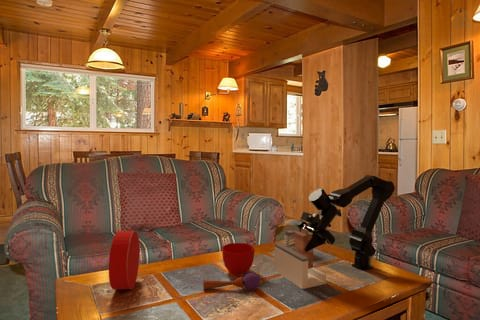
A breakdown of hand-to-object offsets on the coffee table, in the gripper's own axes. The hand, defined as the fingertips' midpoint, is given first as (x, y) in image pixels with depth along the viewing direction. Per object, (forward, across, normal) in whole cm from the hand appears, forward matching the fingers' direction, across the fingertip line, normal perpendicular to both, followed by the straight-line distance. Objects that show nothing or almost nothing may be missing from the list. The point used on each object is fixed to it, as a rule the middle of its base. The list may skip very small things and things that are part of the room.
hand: (301, 248), depth 129 cm
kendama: (+28, -3, -11) cm, 30 cm away
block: (+4, 0, +6) cm, 7 cm away
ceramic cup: (+21, -18, -4) cm, 28 cm away
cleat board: (+8, -3, +9) cm, 12 cm away
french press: (-3, -29, +21) cm, 35 cm away
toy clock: (+52, -20, -35) cm, 66 cm away
